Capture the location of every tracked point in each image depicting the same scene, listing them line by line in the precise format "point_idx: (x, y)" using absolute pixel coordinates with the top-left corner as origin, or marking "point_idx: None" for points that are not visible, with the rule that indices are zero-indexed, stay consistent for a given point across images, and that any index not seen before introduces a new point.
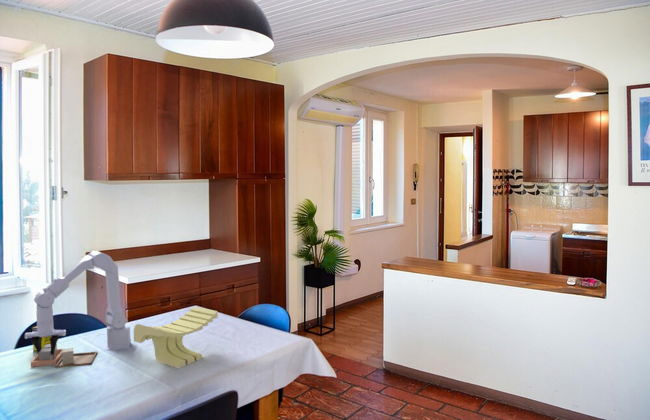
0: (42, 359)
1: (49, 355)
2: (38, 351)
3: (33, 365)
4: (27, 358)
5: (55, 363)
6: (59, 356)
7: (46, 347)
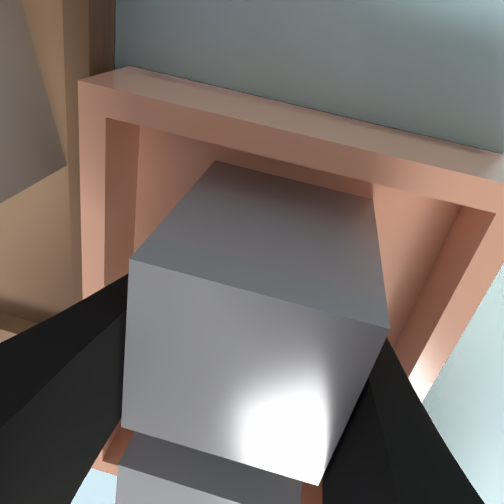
0: (320, 218)
1: (180, 218)
2: (391, 387)
3: (472, 156)
4: (479, 493)
5: (124, 71)
6: (88, 265)
7: (240, 500)
